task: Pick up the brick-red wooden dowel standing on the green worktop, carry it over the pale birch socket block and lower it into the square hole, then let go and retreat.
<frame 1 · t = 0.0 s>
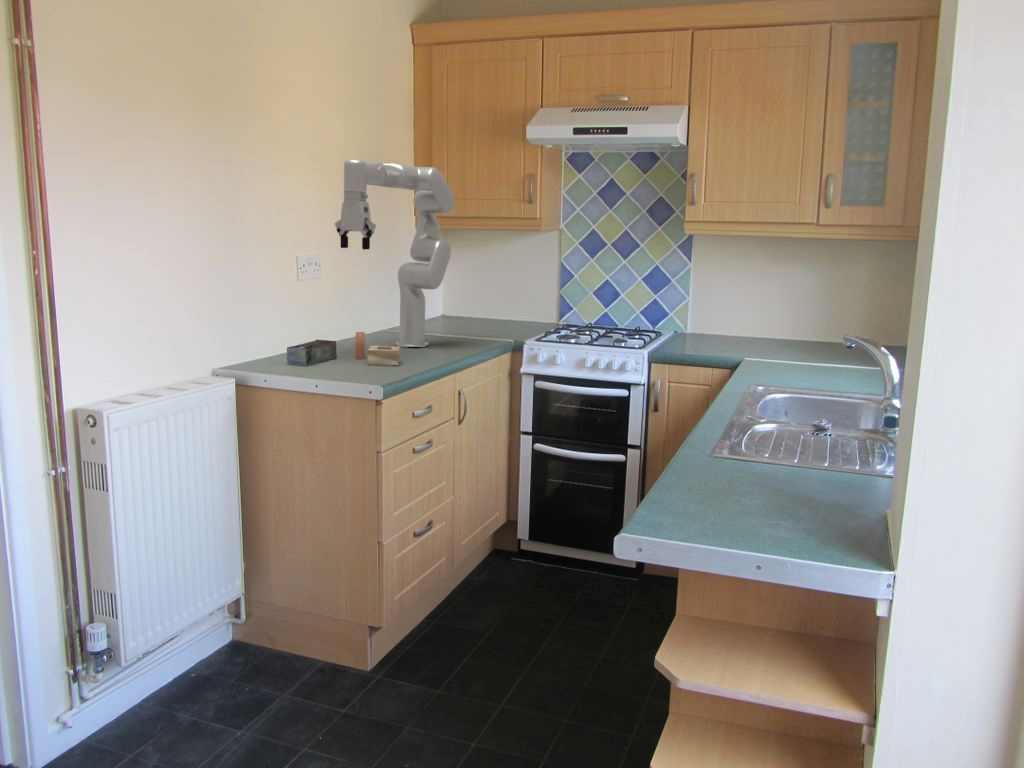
hand: (355, 248, 295), 37 cm above the worktop, tool pointing down, fingers open, 9 cm apart
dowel: (360, 358, 297), on the worktop
socket block: (384, 362, 290), on the worktop
weathered blue-grey brick: (312, 362, 289), on the worktop
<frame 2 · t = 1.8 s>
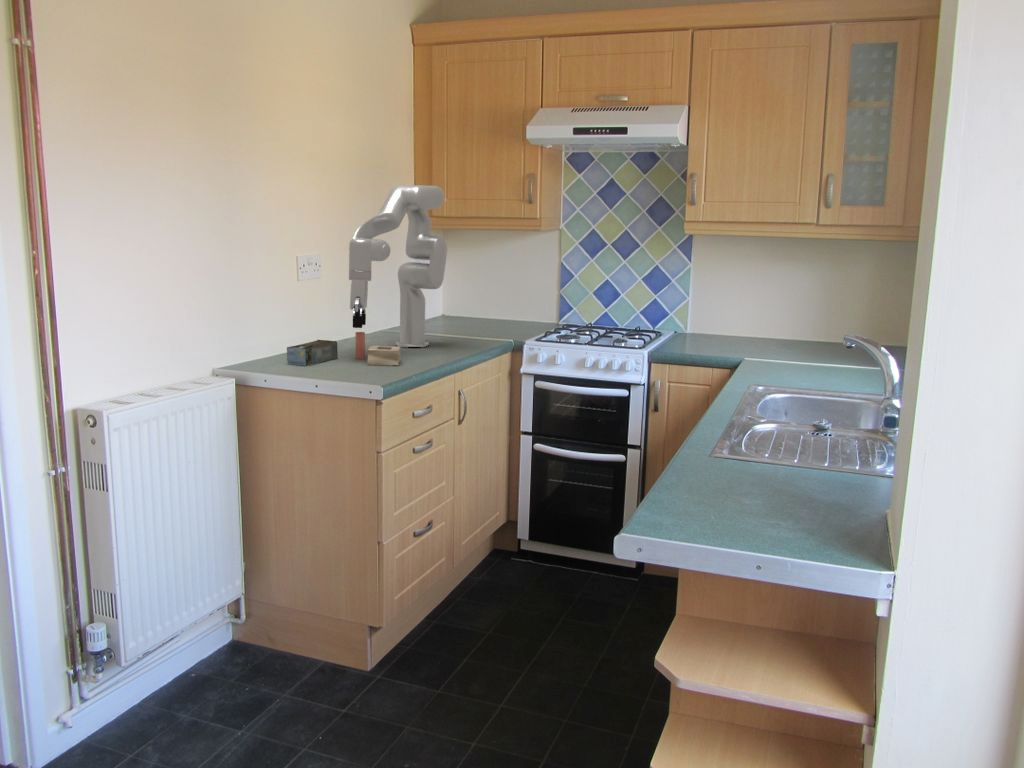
hand: (359, 326, 295), 11 cm above the worktop, tool pointing down, fingers open, 9 cm apart
nothing on the worktop moved.
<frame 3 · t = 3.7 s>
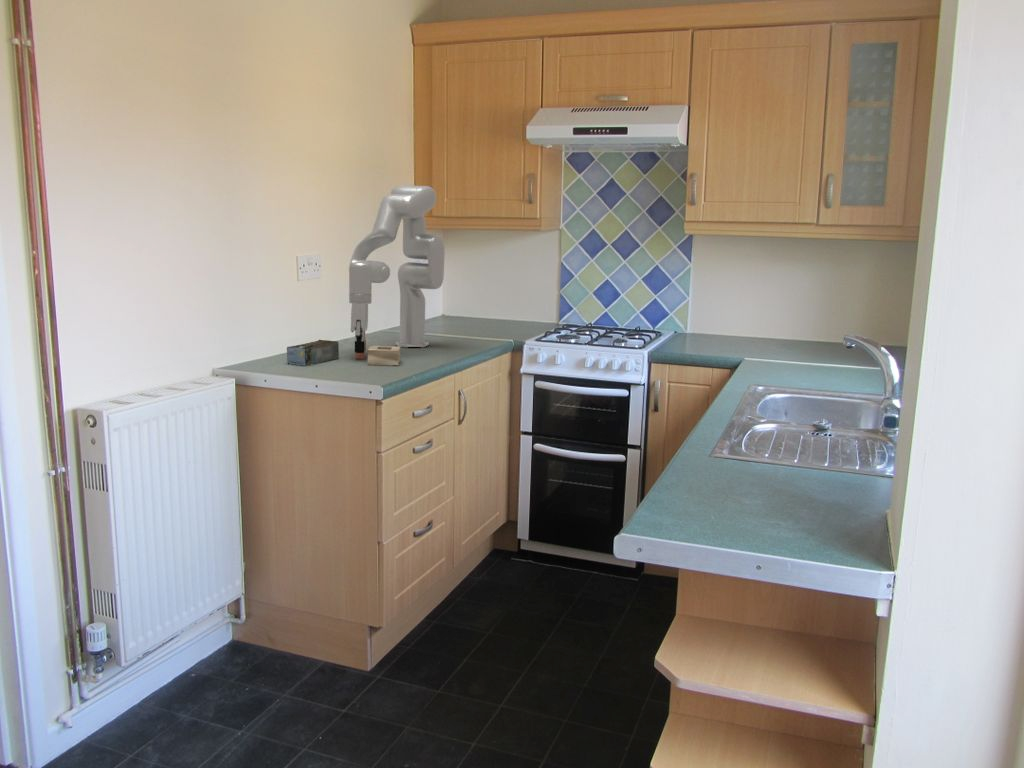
hand: (360, 351, 297), 2 cm above the worktop, tool pointing down, fingers closed on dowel, 3 cm apart
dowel: (360, 358, 297), on the worktop, touching gripper
everything else where it was.
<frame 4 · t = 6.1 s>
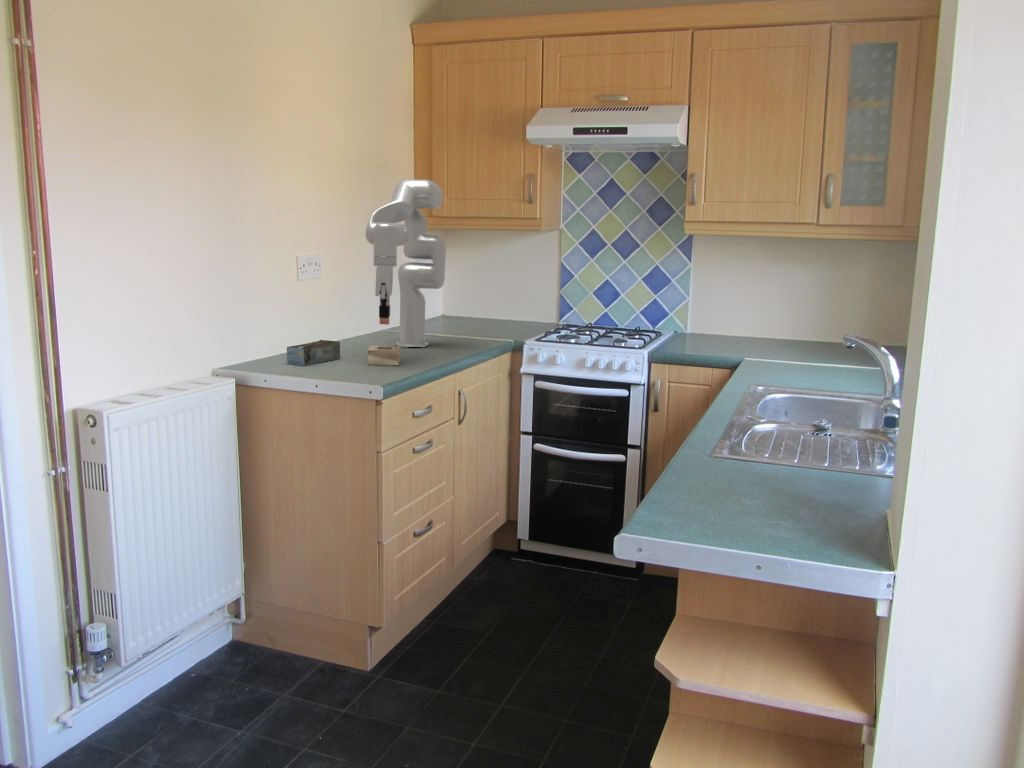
hand: (384, 316, 287), 16 cm above the worktop, tool pointing down, fingers closed on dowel, 3 cm apart
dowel: (384, 323, 287), point 13 cm above the worktop, touching gripper
everything else where it was.
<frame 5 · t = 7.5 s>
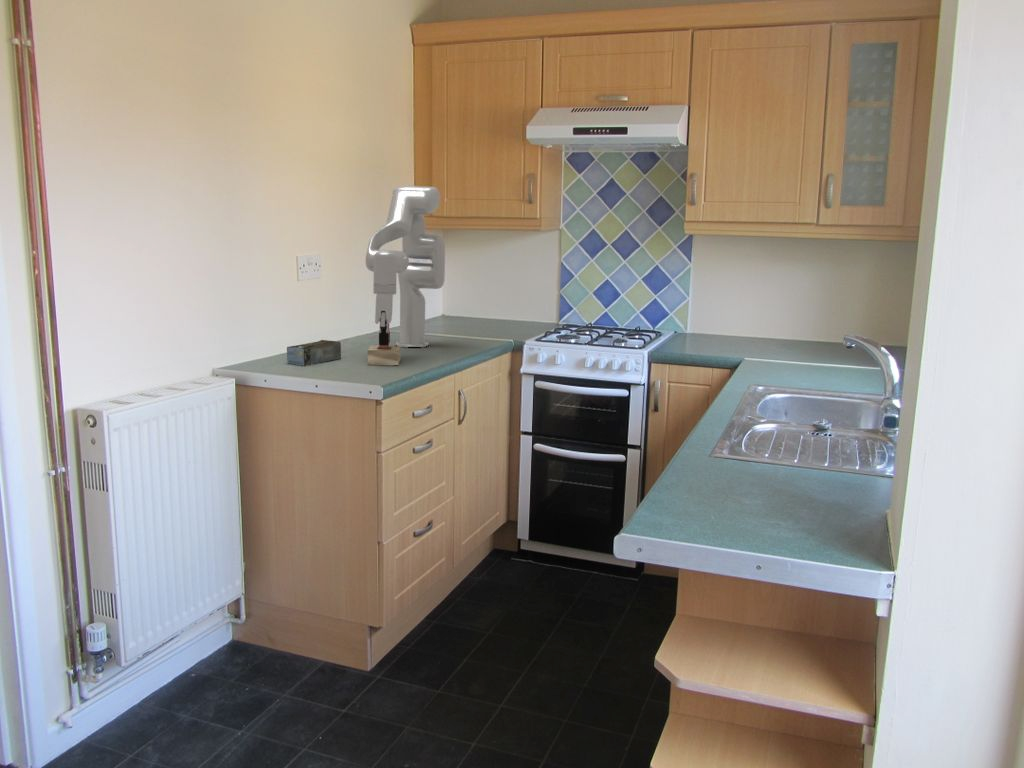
hand: (384, 343, 289), 7 cm above the worktop, tool pointing down, fingers closed on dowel, 3 cm apart
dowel: (384, 350, 289), point 4 cm above the worktop, touching gripper
when the fingers open (5 cm above the worktop, at t = 8.4 s): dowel drops 3 cm, resting in socket block.
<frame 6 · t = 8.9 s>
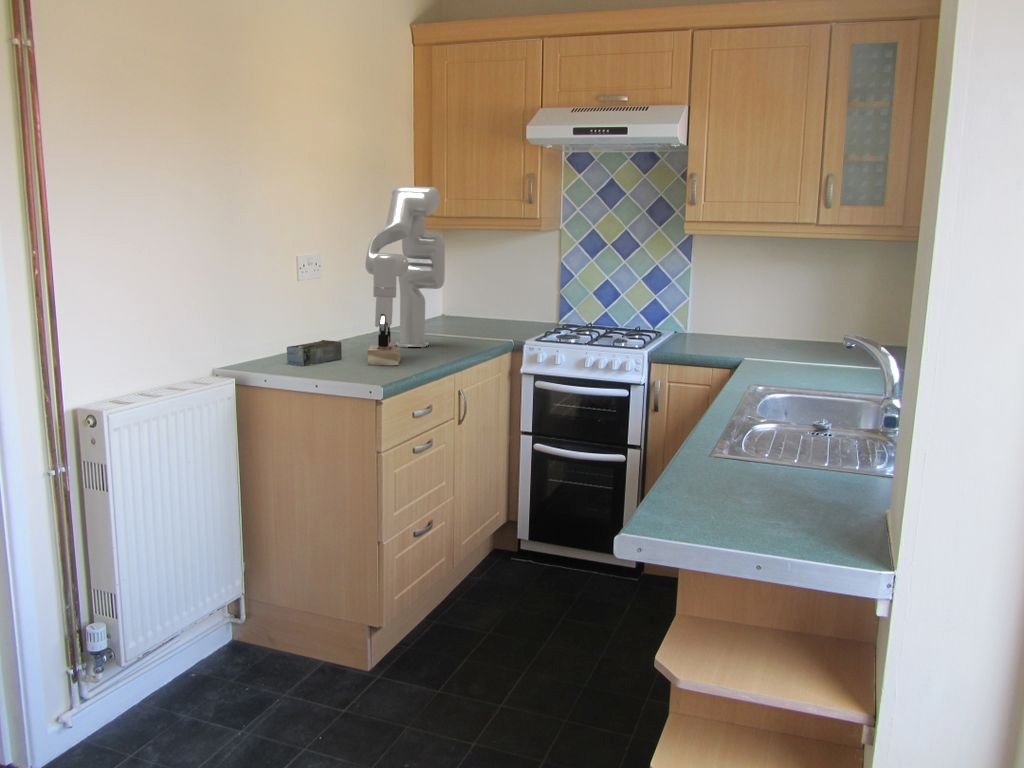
hand: (384, 344, 289), 6 cm above the worktop, tool pointing down, fingers open, 8 cm apart
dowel: (384, 362, 290), resting in socket block
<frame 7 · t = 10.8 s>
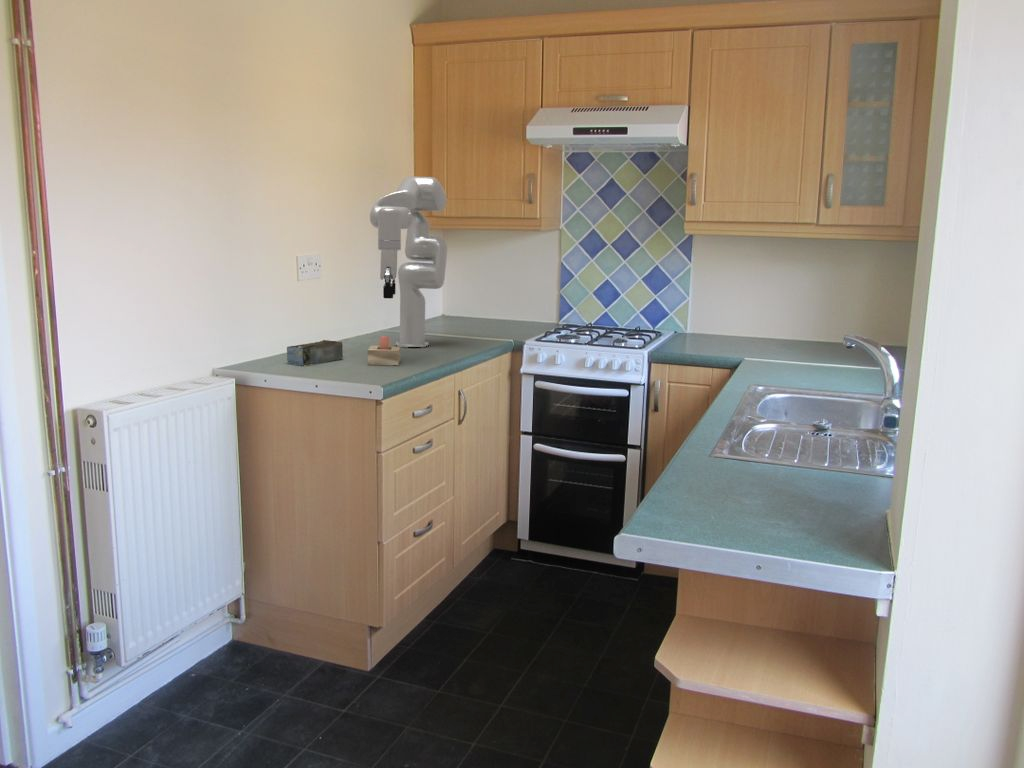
hand: (389, 296, 292), 22 cm above the worktop, tool pointing down, fingers open, 9 cm apart
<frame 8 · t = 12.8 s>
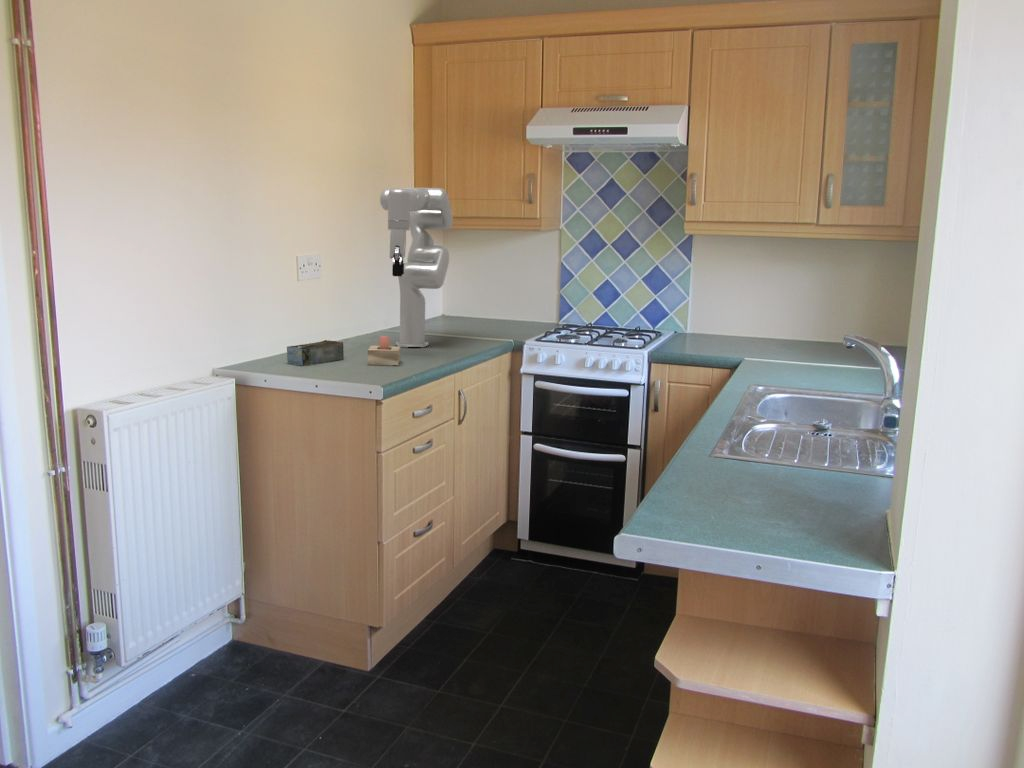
hand: (398, 275, 302), 28 cm above the worktop, tool pointing down, fingers open, 9 cm apart
at the end: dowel 0.1 cm off-centre on the socket block, point 0.0 cm above the socket block's base; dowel tilted 0°; the gripper is holding nothing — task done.
